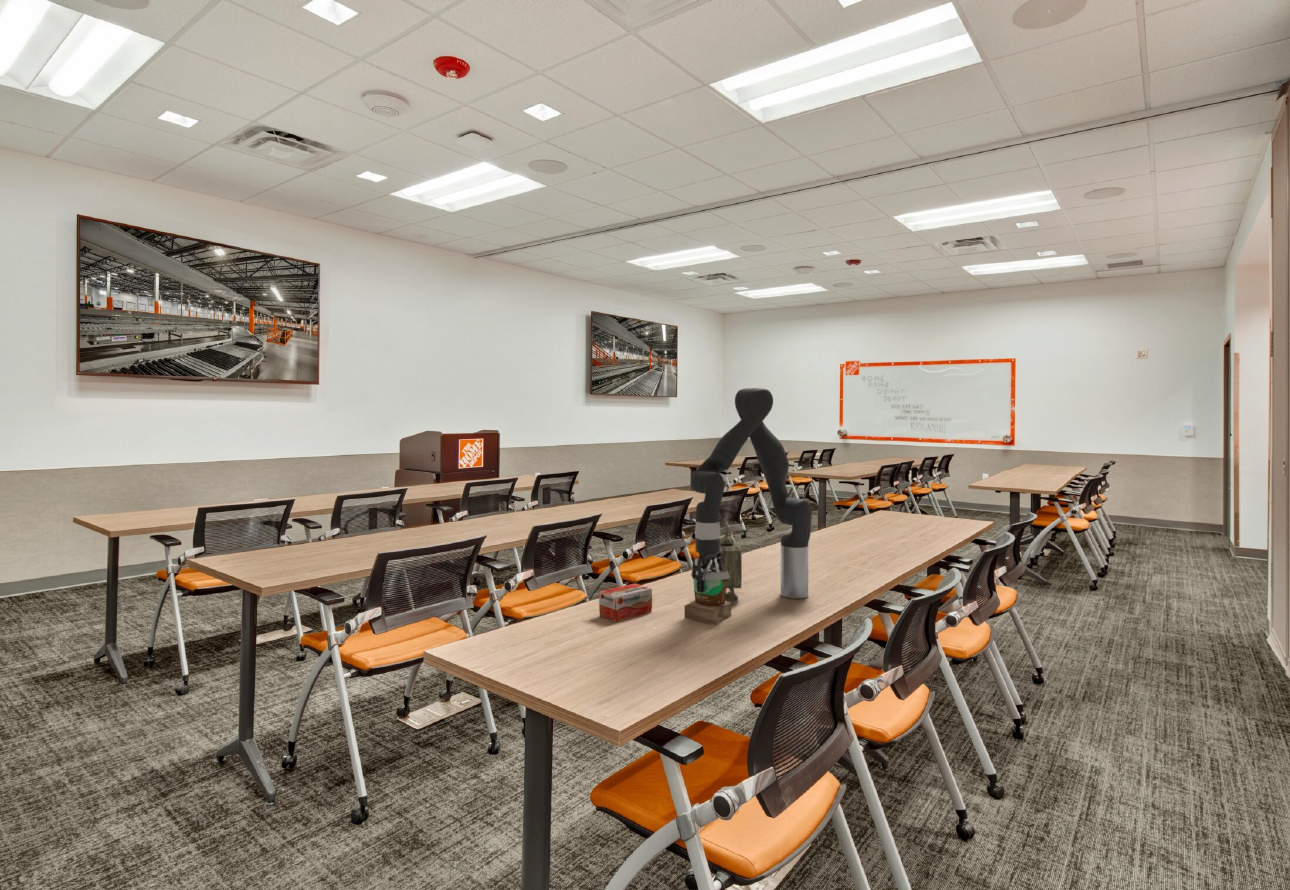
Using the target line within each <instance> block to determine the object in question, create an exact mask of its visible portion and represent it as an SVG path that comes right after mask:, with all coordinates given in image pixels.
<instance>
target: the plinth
mask: <svg viewBox="0 0 1290 890" xmlns="http://www.w3.org/2000/svg"><path fill="white" fill-rule="evenodd" d="M730 616H732V602H731V601H727V600H725V604H722V605H716V606H708V605H701V604H698V603H696V602H695V600H694V601H692V602H690V603H688V604H685V605H684V620H689V621H694V622H699V623H704V624H709V625H715V624H718V623H719V622H721V621H723V620H725V619H727V618H728V617H730Z"/></svg>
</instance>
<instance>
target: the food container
mask: <svg viewBox="0 0 1290 890" xmlns="http://www.w3.org/2000/svg"><path fill="white" fill-rule="evenodd" d="M696 574H697V571H696ZM701 576H702V573H701ZM690 577H692V572H691V574H690ZM728 578H730V577H729V573H728V571H727V572H721V573H717V572H714V571H710V570H709V571H708V573H707V574H706V575H705V578H704V592H703V593H700V592H697V580H696V579H693V578H692V579H693V589H694V590H693V591H694V601H695V602H696V603H698V604H701V605H708V606H716V605H722V604H725V601H726V596H727V589H728V588H727V579H728Z"/></svg>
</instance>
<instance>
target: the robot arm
mask: <svg viewBox="0 0 1290 890" xmlns="http://www.w3.org/2000/svg"><path fill="white" fill-rule="evenodd" d="M773 406H774V397H773V395H772V392H771V391H770V390H769V389H768V388H763V387H749V388H742V389H739V390H738V391H737V392H736V394H735V396H734V407H735V410H736V412H737V414H738V417H739V418H740V420H739V421H738V422H737V424H735V425H734V426H733V427H732V428H730V430H728V431H727V432H726V433H725V434H723V436H722V437H721V438H720V439H719V441H718V442H717V443H716V445H715V447H714V449H713V450H712V451H711V454H710V455H709V456H708V457H707V458H706V460H704V461H703V462H702V463H701V464H700V465H699V467H697V469H696V470H695V471H694V472H693V474H692V477H691V483H690V484H691V487H692V489H693V491H694V492H696V493H698V494H703V495H704V498H703V501H700V502H698V503H697V504H696V506H695V509H696V511H695V530H694V531H695V532H694V533H695V536H694V537H695V542H694V543H695V545H694V546H695V552H697V554H698V558H692V569H691V573H692V576H691V578H692V579H696V580H697V592H700V593H703V592H704V578H705V575H706V574H707V573H708V571H714V572H717V573H720V571H722V570H723V564H722V552H720V539H721V525H720V506H721V504H722V500H723V495H724V493H725V480H724V477H723V475H722V474H721V473H722V472H726V471H728V470H729V469H730V467H731V466H732V464H733V462H734V461H735V459H736V458H737V456H738V454H739V453H740V451H741V449H742V447H743V446H744V444H746V442H747V441H748V439H750V443H751V444H752V446H753V449H754V450H753V451H754V452H755V455H756V458H757V460H758V464H759V467H760V469H761V471H762V473H763V476H764V478H765V481H766V482H765V483H766V484H767V488H768V491H769V494H770V498H771V502H772V506H773V510H774V513H775V517H776V518H777V520H778V521H779V522H780V523H781V524H783V525H789V526H791V532H790V533H787V534H783V535H782V536H781V538H780V596H782V597H784V598H787V599H805V598H807V597H809V541H810V538H811V531H812V530H811V529H812V506H811V504H810V503H809V501H808V500H806V499H803V498H795V497H794V498H793V497H791V496H790V495H789V491H788V489H787V486H786V485H787V484H786V481H787V476H788V473H789V469H790V466H789V465H790V463H789V459H788V458H789V457H788V456H787V454H786V450H785V448H784V446H783V444H782V443H781V441H780V440H779V439H778V438H777V437H776V435H774V433H773V432H772V431H771V430H770V429H769V428H768V427H767V425H766V424H765V423H764V420H765V419H766V418H767V416H768V415H769V414H770V412H771V411H772V409H773ZM718 563H719V565H718ZM696 571H697V574H696ZM701 573H702V576H701Z"/></svg>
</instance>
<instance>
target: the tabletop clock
mask: <svg viewBox="0 0 1290 890" xmlns="http://www.w3.org/2000/svg"><path fill="white" fill-rule="evenodd" d="M720 552H722V564H723V570H722V571H720V573H721V572H727V571H728V573H729V577H730V578H728V579H727V588H726V589H728V590H729V592H731V594H732V595H733V597H732V599H733V600H734V601H737V600H738V599H739V596H738V595H737V594H736V593H735V589H742V582H743V581H742V580H743V579H742V577H743V576H742V571H743V570H742V568H743V566H742V564H743V562H742V560H743V558H742V548H741V546H740V544H739V543H738V542H735V540H734V539H733V537H731V536H729V524H728V523H727V522H725V523H724V536H722V537H720ZM718 565H719V563H718Z"/></svg>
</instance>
